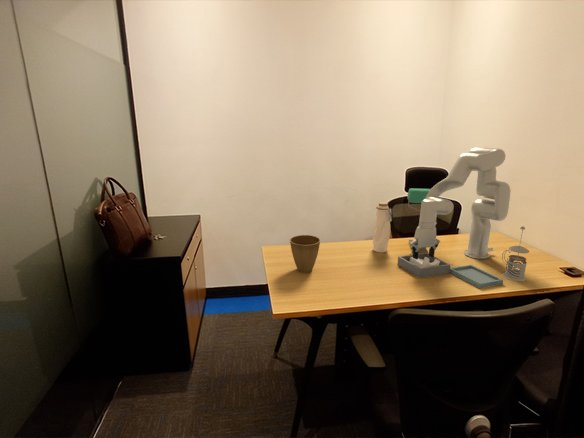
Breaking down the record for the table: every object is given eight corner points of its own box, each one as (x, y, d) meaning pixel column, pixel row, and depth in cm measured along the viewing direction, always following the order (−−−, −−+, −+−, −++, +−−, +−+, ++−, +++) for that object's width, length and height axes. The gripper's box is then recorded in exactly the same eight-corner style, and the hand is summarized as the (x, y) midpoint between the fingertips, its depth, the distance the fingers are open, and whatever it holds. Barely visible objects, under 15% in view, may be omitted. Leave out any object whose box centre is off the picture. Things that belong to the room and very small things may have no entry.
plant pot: (288, 264, 179) (288, 235, 175) (317, 263, 181) (317, 234, 176) (291, 276, 165) (291, 245, 161) (321, 275, 166) (322, 244, 162)
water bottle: (392, 249, 201) (395, 202, 193) (387, 254, 193) (391, 205, 186) (375, 246, 206) (378, 200, 199) (370, 250, 199) (372, 203, 191)
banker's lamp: (405, 252, 196) (410, 192, 187) (402, 241, 215) (407, 186, 206) (434, 254, 193) (441, 193, 183) (428, 242, 212) (434, 186, 203)
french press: (518, 282, 158) (528, 230, 152) (494, 273, 168) (502, 224, 162) (530, 278, 162) (540, 227, 156) (506, 269, 172) (514, 221, 166)
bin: (425, 260, 185) (426, 252, 183) (449, 273, 168) (450, 264, 167) (397, 264, 179) (398, 256, 178) (419, 278, 163) (420, 269, 162)
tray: (470, 268, 174) (470, 264, 173) (502, 284, 157) (503, 279, 156) (448, 272, 170) (449, 268, 169) (479, 288, 152) (480, 283, 152)
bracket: (434, 275, 169) (440, 261, 167) (422, 273, 167) (427, 258, 165) (419, 265, 181) (424, 252, 180) (408, 263, 179) (413, 249, 178)
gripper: (436, 221, 174) (432, 253, 178) (407, 223, 168) (403, 256, 173) (447, 225, 167) (442, 258, 171) (417, 228, 161) (413, 262, 166)
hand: (423, 257), depth 172 cm, fingers open, 9 cm apart
